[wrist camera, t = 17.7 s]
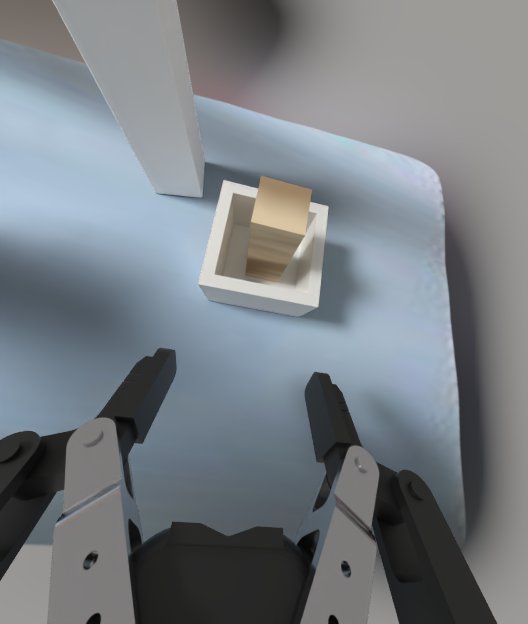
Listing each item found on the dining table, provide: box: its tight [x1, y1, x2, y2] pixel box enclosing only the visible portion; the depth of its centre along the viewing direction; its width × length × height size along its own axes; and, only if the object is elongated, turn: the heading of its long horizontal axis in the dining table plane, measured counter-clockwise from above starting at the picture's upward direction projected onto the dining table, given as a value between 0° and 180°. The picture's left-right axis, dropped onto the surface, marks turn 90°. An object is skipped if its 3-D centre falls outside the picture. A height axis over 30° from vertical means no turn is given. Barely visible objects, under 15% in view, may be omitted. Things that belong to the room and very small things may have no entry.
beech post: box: [245, 176, 312, 282], centre depth 19 cm, size 4×4×10 cm
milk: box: [53, 0, 205, 198], centre depth 15 cm, size 6×6×22 cm
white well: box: [198, 180, 329, 317], centre depth 22 cm, size 11×11×6 cm
